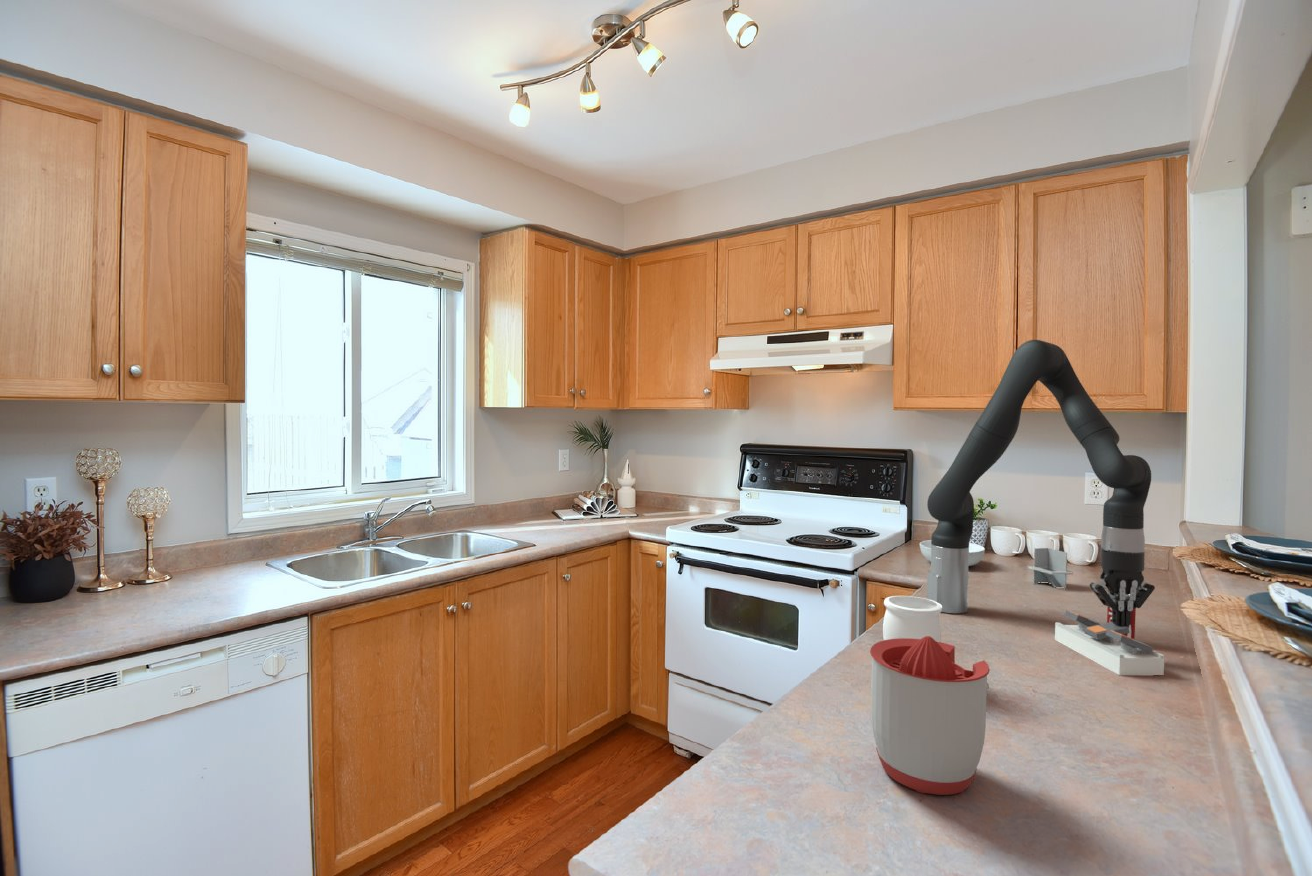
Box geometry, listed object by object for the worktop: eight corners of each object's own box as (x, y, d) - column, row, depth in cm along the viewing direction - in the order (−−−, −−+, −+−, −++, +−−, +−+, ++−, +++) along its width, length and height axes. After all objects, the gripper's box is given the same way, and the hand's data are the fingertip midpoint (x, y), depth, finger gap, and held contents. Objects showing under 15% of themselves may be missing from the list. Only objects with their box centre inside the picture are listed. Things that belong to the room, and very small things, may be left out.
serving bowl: (908, 558, 230) (908, 539, 229) (961, 557, 232) (962, 539, 232) (939, 572, 209) (940, 552, 209) (998, 571, 211) (998, 551, 211)
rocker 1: (1076, 620, 140) (1078, 615, 140) (1064, 615, 144) (1066, 609, 144) (1104, 631, 140) (1107, 625, 140) (1092, 625, 144) (1094, 620, 144)
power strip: (1119, 675, 125) (1120, 651, 125) (1038, 630, 151) (1039, 611, 151) (1163, 675, 125) (1164, 651, 125) (1075, 631, 151) (1076, 611, 151)
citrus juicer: (1023, 794, 85) (1027, 649, 84) (916, 816, 80) (920, 662, 79) (940, 737, 100) (943, 614, 99) (845, 752, 95) (848, 623, 94)
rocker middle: (1097, 639, 133) (1096, 633, 133) (1084, 633, 137) (1083, 627, 137) (1129, 632, 133) (1128, 626, 133) (1115, 626, 137) (1114, 620, 137)
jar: (937, 671, 126) (939, 598, 126) (942, 692, 116) (944, 613, 116) (881, 664, 130) (883, 592, 129) (882, 684, 120) (884, 606, 119)
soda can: (1139, 646, 141) (1141, 594, 141) (1113, 644, 142) (1115, 592, 142) (1126, 638, 146) (1128, 588, 146) (1101, 637, 147) (1103, 586, 147)
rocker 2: (1119, 641, 127) (1122, 635, 127) (1105, 634, 131) (1107, 628, 131) (1151, 653, 127) (1153, 647, 127) (1136, 646, 131) (1138, 640, 131)
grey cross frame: (1051, 599, 180) (1053, 559, 180) (997, 580, 200) (999, 544, 200) (1105, 595, 184) (1106, 557, 184) (1047, 578, 205) (1048, 543, 204)
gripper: (1139, 544, 138) (1138, 621, 139) (1080, 544, 138) (1078, 621, 139) (1167, 551, 131) (1166, 632, 131) (1104, 551, 131) (1103, 633, 131)
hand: (1121, 626), depth 135 cm, fingers closed
